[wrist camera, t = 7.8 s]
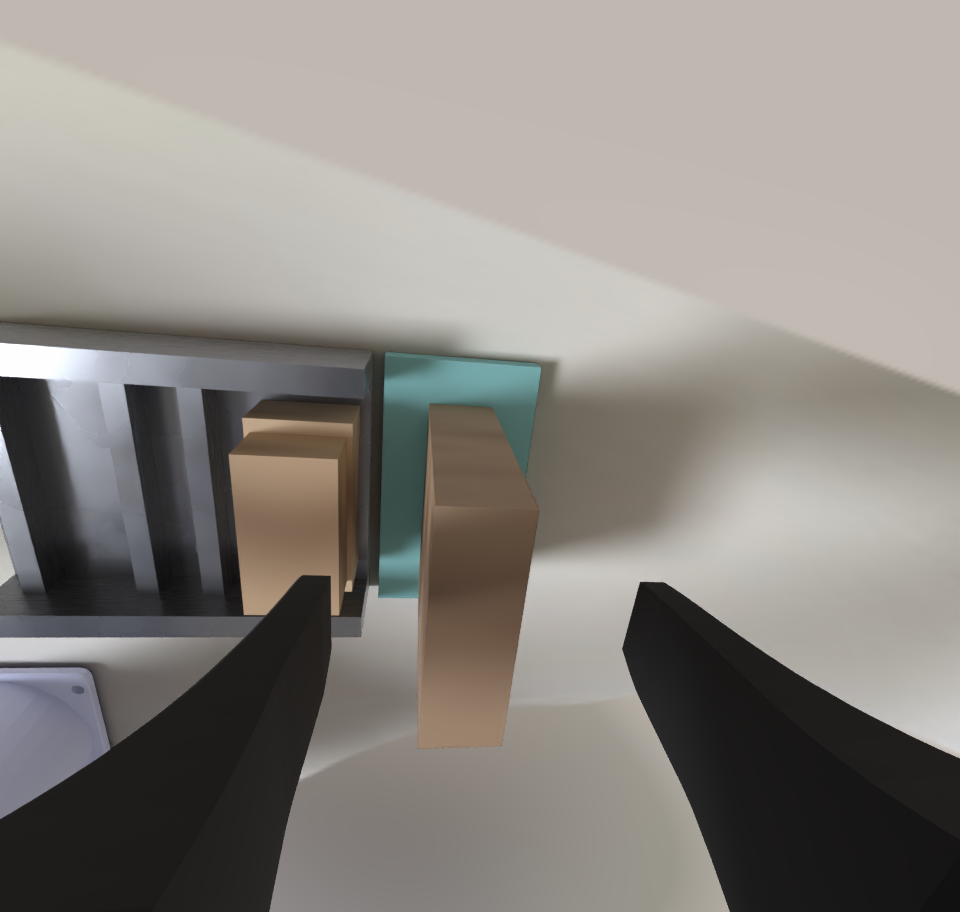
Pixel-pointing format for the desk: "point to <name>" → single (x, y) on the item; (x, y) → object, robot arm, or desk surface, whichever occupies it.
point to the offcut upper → (289, 514)
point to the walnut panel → (470, 577)
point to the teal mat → (406, 440)
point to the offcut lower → (319, 423)
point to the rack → (146, 476)
